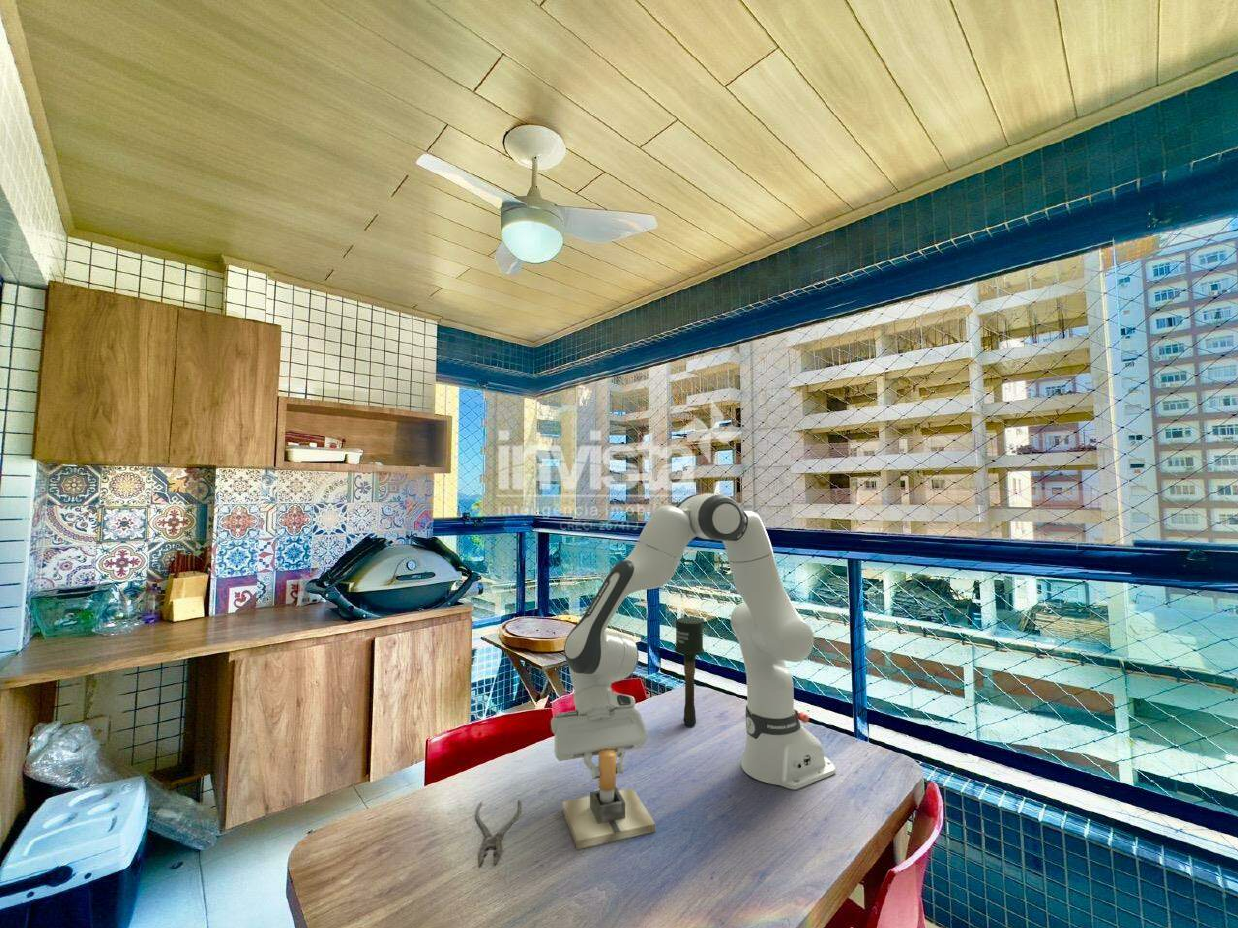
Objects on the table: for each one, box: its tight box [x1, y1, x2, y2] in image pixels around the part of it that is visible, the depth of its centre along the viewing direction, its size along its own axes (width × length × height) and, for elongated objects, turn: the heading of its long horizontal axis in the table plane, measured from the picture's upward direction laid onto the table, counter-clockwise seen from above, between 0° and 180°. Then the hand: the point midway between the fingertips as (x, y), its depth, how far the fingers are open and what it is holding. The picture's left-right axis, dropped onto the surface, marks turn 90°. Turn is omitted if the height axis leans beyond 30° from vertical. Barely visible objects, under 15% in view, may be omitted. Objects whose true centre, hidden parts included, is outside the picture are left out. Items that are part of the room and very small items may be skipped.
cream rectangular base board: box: [561, 786, 656, 850], centre depth 104 cm, size 16×13×4 cm
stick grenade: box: [674, 616, 705, 728], centre depth 149 cm, size 8×9×30 cm
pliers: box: [475, 798, 523, 868], centre depth 101 cm, size 10×1×20 cm
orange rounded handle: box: [597, 749, 617, 805], centre depth 105 cm, size 4×4×10 cm
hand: (608, 775), depth 104 cm, fingers closed on orange rounded handle, 4 cm apart
